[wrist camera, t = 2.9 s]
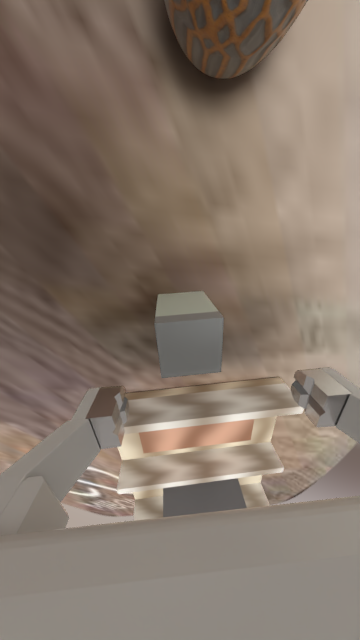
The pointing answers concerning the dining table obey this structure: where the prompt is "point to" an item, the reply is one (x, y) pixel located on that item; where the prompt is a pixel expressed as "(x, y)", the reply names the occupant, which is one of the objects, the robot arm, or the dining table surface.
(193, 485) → the charcoal block
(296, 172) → the dining table surface
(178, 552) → the robot arm
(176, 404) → the rack
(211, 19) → the vase
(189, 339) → the grey rectangular block
